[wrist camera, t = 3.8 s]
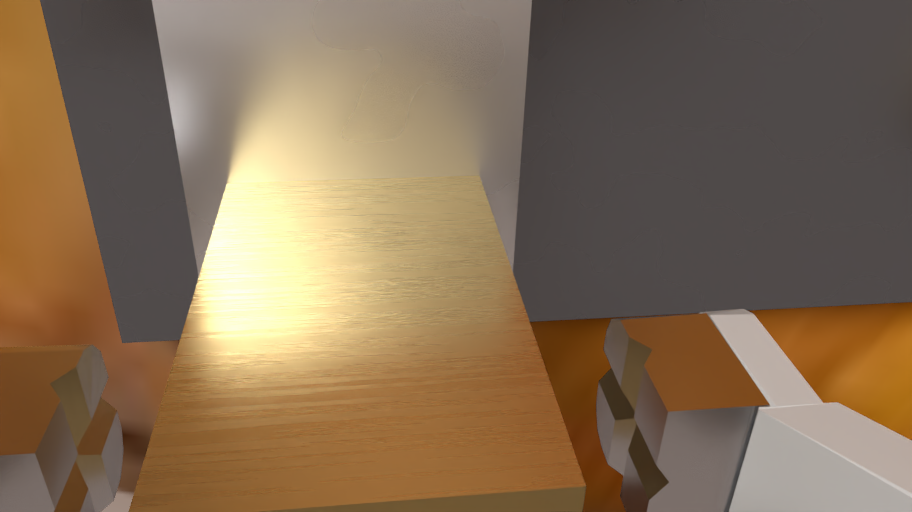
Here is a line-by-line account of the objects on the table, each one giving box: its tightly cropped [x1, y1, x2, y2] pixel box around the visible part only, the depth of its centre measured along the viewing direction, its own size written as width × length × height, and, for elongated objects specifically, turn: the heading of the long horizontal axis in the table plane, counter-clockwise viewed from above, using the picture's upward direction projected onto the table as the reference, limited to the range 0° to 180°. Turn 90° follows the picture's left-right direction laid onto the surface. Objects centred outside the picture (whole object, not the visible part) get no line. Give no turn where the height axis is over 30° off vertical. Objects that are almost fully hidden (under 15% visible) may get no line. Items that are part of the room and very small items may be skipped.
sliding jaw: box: [129, 0, 586, 512], centre depth 10 cm, size 4×8×10 cm, turn 179°
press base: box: [40, 0, 912, 343], centre depth 14 cm, size 26×9×8 cm, turn 89°
